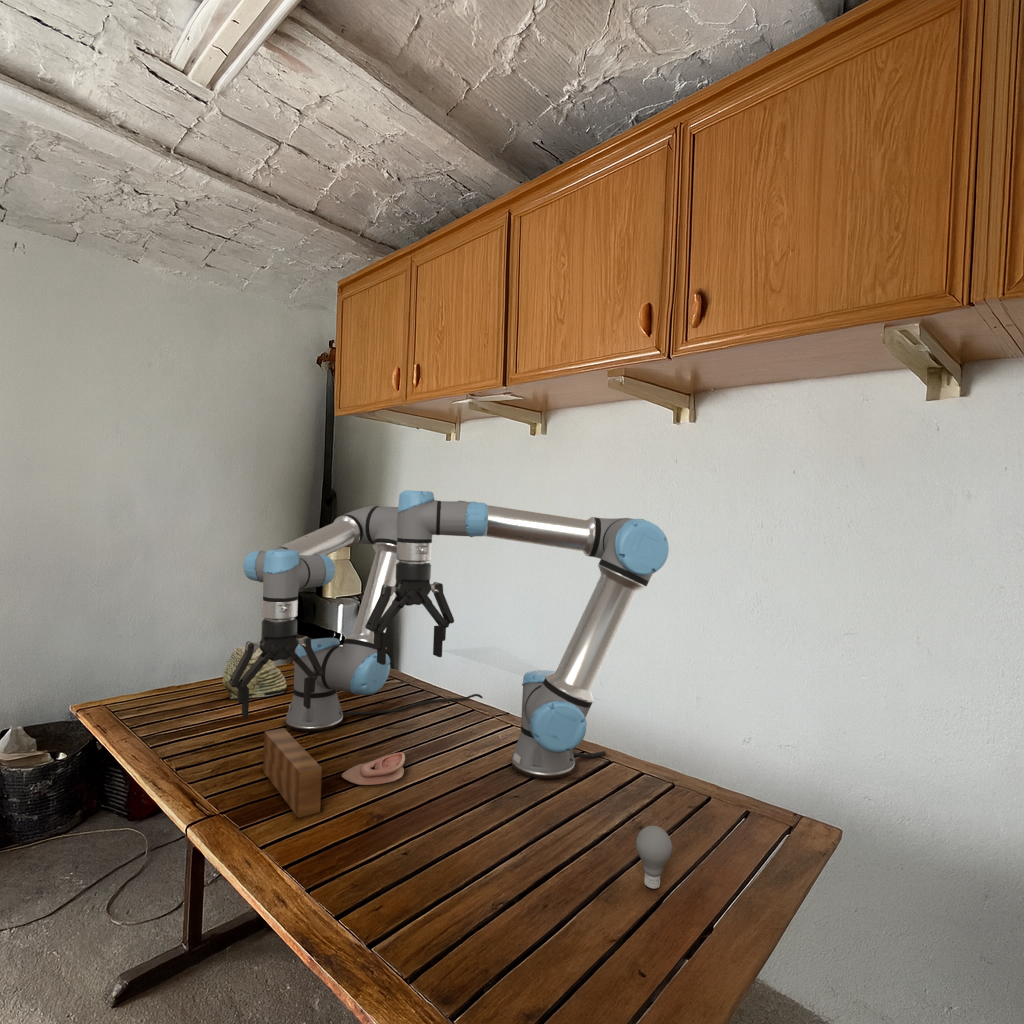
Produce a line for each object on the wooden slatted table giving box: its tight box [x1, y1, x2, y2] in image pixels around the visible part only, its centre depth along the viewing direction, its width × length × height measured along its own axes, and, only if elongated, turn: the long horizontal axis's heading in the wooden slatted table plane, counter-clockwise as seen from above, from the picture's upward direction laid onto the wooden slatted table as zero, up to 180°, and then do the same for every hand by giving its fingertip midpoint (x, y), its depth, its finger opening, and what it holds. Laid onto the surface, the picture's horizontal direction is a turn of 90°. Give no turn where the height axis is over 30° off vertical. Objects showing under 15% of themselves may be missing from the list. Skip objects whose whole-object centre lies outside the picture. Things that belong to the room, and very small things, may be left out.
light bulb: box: [635, 825, 673, 889], centre depth 107 cm, size 6×6×10 cm
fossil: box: [222, 646, 288, 699], centre depth 198 cm, size 9×18×15 cm, turn 132°
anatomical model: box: [341, 751, 406, 786], centre depth 145 cm, size 13×4×12 cm
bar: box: [262, 727, 323, 819], centre depth 136 cm, size 25×4×9 cm, turn 36°
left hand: (276, 711), depth 143 cm, fingers open, 13 cm apart
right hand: (410, 659), depth 137 cm, fingers open, 13 cm apart
